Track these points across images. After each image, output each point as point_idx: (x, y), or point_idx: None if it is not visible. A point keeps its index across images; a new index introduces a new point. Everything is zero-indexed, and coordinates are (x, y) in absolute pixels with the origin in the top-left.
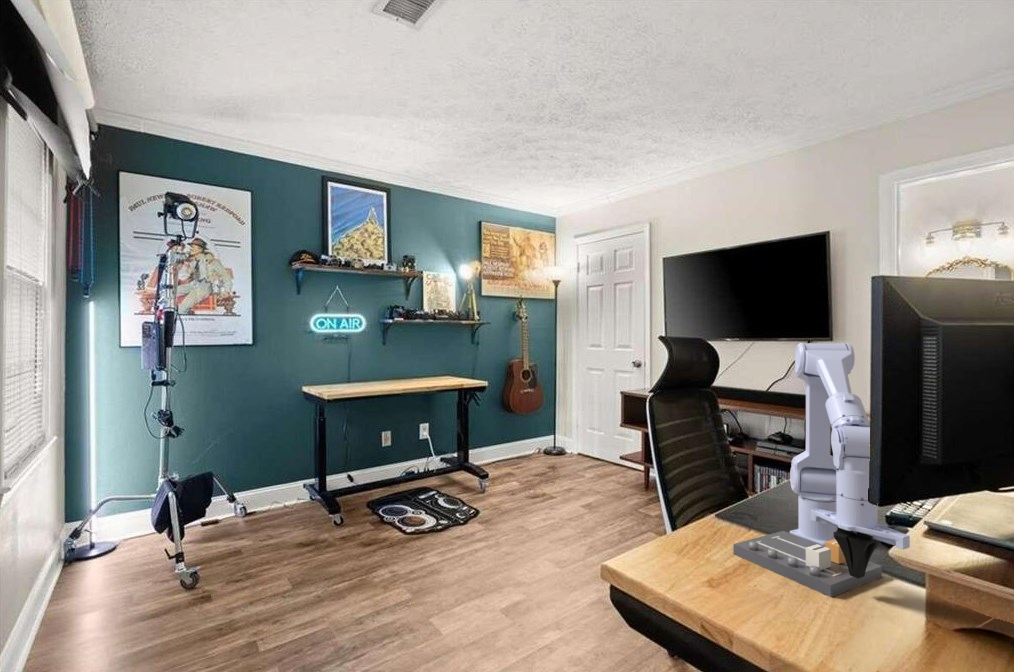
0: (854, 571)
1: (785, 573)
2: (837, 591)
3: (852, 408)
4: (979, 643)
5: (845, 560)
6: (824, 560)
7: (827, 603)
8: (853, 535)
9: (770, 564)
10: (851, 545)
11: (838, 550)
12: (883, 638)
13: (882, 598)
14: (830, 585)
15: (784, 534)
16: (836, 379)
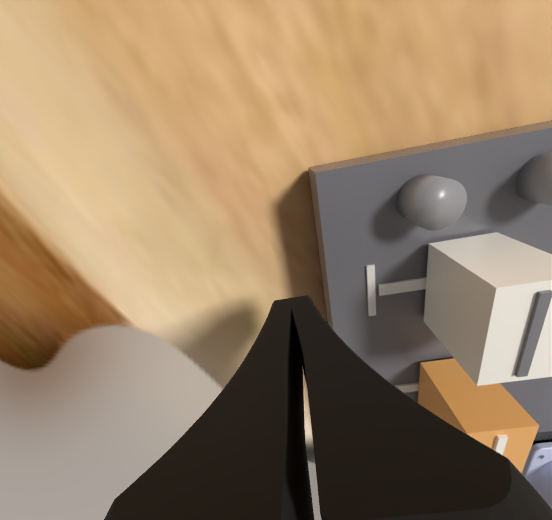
0: (283, 310)
1: (529, 126)
2: (315, 216)
3: None
4: (22, 339)
5: (420, 398)
6: (449, 303)
7: (282, 111)
8: None
9: None
10: (272, 445)
11: (454, 414)
12: (16, 81)
13: (255, 329)
14: (316, 172)
15: None
16: None
